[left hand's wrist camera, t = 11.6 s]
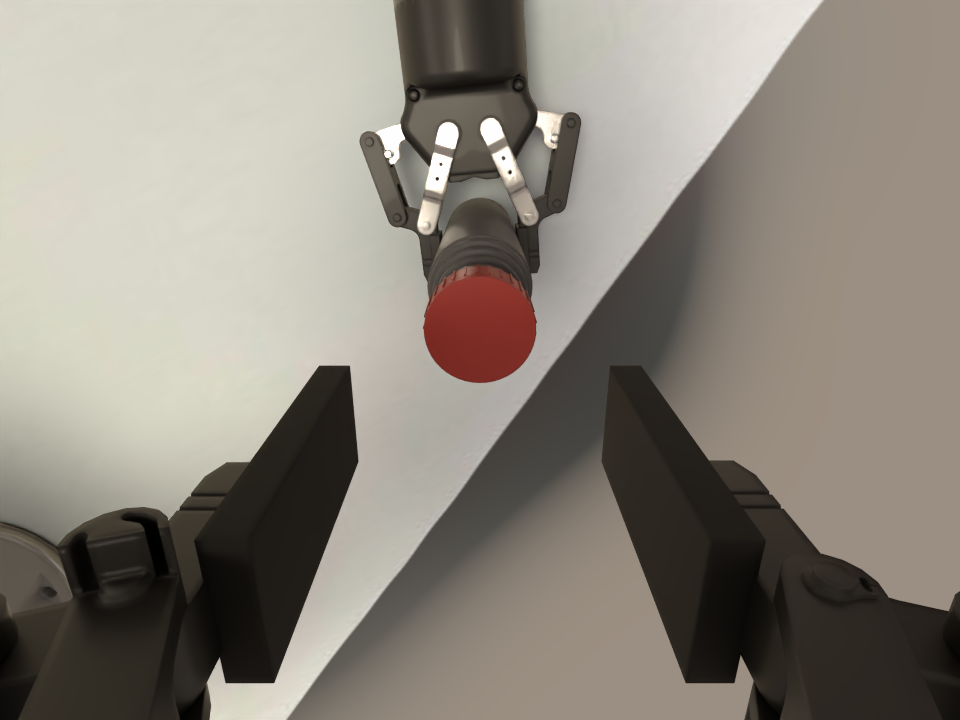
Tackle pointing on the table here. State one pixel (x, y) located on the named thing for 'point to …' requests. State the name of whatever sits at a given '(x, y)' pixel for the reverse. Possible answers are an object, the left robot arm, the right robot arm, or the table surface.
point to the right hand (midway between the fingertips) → (483, 282)
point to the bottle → (479, 244)
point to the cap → (480, 324)
